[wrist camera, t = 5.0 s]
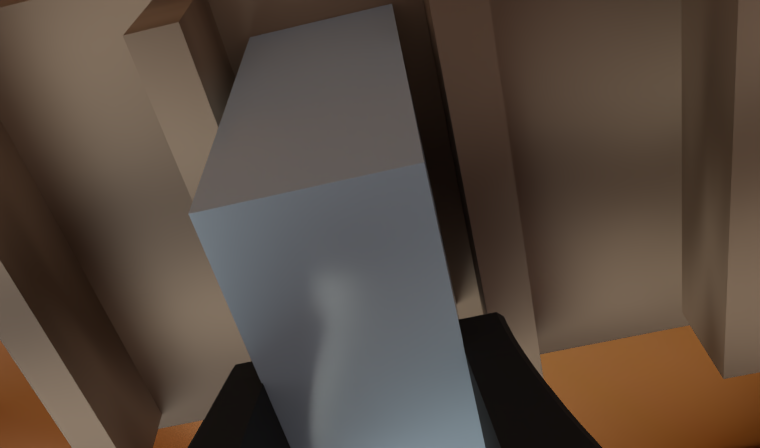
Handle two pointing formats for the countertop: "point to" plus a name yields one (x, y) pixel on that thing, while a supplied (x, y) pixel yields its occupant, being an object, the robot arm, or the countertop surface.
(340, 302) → the grey block
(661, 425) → the countertop surface
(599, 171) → the rack
